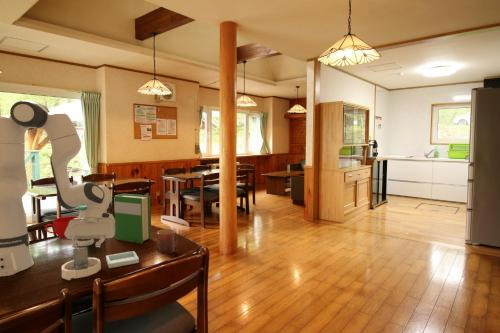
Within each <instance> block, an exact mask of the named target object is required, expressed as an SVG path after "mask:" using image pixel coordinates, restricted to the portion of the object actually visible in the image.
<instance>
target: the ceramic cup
mask: <svg viewBox="0 0 500 333" xmlns="http://www.w3.org/2000/svg"><path fill="white" fill-rule="evenodd" d="M77 218H78V216H61V217H57V218H54V219H53V220H52V224H51V223H49V224H46V225H45V226H44V230H45V232H46V233H49V234H54V235H55V234H56V235H57V236H58V237H59V238H60V239H66V240H67V239H68V238H67V237H66V236H65V234H64V233H65V231H66V229H67V227H68V224H69V222H70V221H71V220H73V219H77ZM49 226H51V227H52V228H53V230H54V231H49V230H48V228H47V227H49Z"/></svg>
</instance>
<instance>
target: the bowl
mask: <svg viewBox="0 0 500 333" xmlns="http://www.w3.org/2000/svg"><path fill="white" fill-rule="evenodd" d="M88 267H89V268H87V269H82V270H74V259H73V260H70V261H67V262H65V263H64V264H62V265H61V279H64V280H67V281H71V280H72V279H79V278H80V279H81V278H85V277H89V276H92V275H94V274H97V273H98V272H99V271H100V270H101V269H102V263H101V260H100V258H97V257H88Z"/></svg>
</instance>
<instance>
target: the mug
mask: <svg viewBox="0 0 500 333" xmlns="http://www.w3.org/2000/svg"><path fill="white" fill-rule="evenodd" d="M156 236H157V237H156V238H157V240H158V252H159V253H160V254H168V255H170V254H173V253H174V251H175V236H176V230H175V229H172V228H164V229H160V230H157V231H156Z"/></svg>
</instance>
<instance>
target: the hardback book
mask: <svg viewBox="0 0 500 333" xmlns="http://www.w3.org/2000/svg"><path fill="white" fill-rule="evenodd" d="M113 201H114V202H113V204H114V219H115V227H116V229H115V235H114V237H115V241H116V240H117V241H122V242H124V241H125V242H130V243H135V242H136V244H143V243H144V242H145V241H146V240H148V239H151V240H152V232H151V231H152V226H151V196H150V195H143V194H142V195H141V194H132V193H131V194H130V193H121V194H117V195H114V196H113Z"/></svg>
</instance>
